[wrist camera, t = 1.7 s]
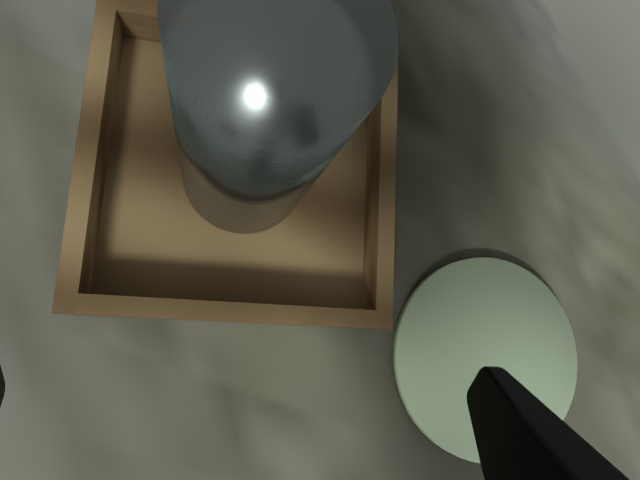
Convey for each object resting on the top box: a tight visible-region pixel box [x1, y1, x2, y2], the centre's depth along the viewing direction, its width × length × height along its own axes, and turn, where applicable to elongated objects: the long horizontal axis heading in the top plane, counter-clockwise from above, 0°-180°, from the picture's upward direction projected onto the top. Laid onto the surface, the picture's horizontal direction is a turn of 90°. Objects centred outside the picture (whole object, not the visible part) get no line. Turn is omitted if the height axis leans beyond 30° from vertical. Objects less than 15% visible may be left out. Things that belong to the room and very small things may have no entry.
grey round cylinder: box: [157, 0, 399, 234], centre depth 17 cm, size 6×6×12 cm
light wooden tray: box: [52, 0, 399, 330], centre depth 22 cm, size 14×14×2 cm
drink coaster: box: [392, 257, 577, 463], centre depth 24 cm, size 10×10×1 cm
